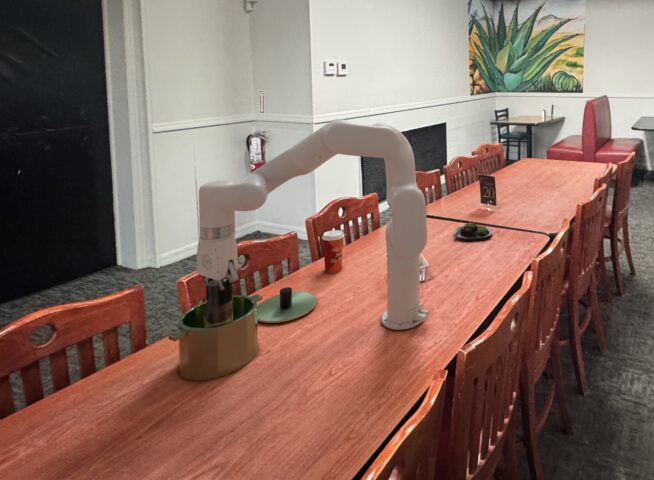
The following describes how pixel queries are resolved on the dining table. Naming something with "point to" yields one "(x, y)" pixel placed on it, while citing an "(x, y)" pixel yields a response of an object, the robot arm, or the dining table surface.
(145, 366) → the dining table surface
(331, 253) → the paper cup
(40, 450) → the dining table surface
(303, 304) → the tin lid
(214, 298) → the sauce bottle
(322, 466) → the dining table surface
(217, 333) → the cooking pot
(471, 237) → the salad plate
